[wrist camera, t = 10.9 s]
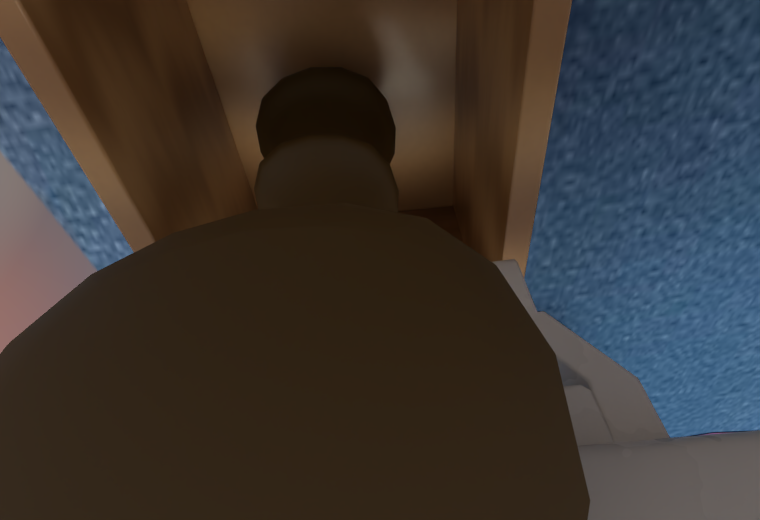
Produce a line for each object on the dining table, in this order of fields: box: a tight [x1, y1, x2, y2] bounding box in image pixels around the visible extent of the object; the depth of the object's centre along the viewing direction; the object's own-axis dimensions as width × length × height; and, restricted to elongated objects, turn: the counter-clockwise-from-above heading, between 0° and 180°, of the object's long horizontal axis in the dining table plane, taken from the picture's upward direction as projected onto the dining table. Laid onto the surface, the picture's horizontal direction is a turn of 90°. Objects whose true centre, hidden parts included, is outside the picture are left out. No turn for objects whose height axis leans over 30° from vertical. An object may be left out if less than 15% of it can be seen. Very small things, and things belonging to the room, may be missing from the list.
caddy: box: [0, 0, 572, 277], centre depth 16 cm, size 15×12×10 cm
